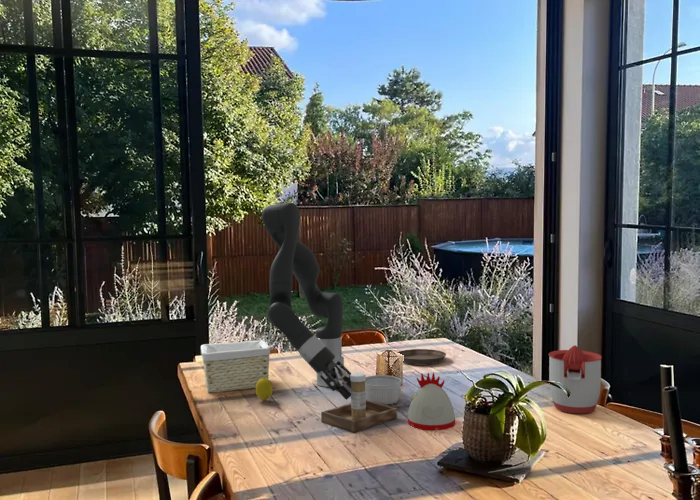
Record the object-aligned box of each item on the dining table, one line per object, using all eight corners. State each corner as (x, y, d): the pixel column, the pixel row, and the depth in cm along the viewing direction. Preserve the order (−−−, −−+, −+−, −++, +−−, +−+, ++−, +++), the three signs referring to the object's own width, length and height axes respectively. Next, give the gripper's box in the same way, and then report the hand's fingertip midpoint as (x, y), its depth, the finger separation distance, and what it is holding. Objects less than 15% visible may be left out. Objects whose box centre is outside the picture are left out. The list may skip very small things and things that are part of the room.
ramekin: (409, 400, 215) (409, 379, 215) (384, 409, 206) (383, 387, 205) (379, 392, 224) (378, 372, 224) (353, 401, 215) (352, 380, 214)
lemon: (269, 403, 214) (269, 379, 213) (253, 403, 215) (252, 379, 214) (274, 398, 219) (274, 375, 218) (259, 398, 220) (258, 374, 220)
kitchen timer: (406, 415, 199) (406, 367, 198) (451, 415, 199) (451, 366, 198) (409, 431, 185) (408, 379, 184) (457, 430, 185) (457, 378, 184)
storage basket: (203, 394, 226) (202, 352, 225) (201, 383, 241) (199, 343, 240) (272, 388, 232) (271, 347, 231) (265, 377, 248) (264, 339, 247)
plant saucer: (397, 355, 282) (397, 347, 282) (445, 356, 279) (445, 348, 279) (394, 366, 261) (394, 358, 261) (446, 367, 259) (446, 359, 259)
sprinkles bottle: (362, 414, 198) (361, 371, 198) (369, 419, 194) (368, 374, 193) (348, 417, 196) (347, 373, 196) (355, 421, 192) (354, 376, 191)
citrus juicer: (546, 415, 196) (546, 350, 195) (549, 399, 213) (549, 339, 212) (602, 420, 191) (602, 353, 190) (601, 403, 207) (601, 341, 206)
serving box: (364, 408, 207) (364, 399, 207) (397, 418, 197) (396, 408, 196) (321, 421, 194) (321, 412, 194) (354, 433, 184) (353, 422, 184)
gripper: (316, 350, 190) (355, 391, 188) (331, 341, 204) (367, 379, 202) (300, 367, 192) (338, 408, 190) (315, 357, 206) (351, 395, 203)
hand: (353, 393), depth 196 cm, fingers open, 8 cm apart
